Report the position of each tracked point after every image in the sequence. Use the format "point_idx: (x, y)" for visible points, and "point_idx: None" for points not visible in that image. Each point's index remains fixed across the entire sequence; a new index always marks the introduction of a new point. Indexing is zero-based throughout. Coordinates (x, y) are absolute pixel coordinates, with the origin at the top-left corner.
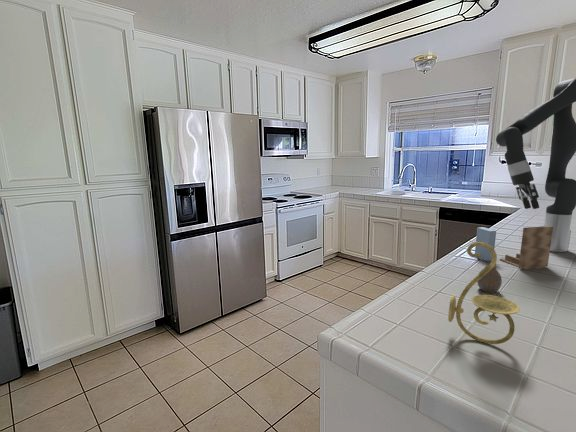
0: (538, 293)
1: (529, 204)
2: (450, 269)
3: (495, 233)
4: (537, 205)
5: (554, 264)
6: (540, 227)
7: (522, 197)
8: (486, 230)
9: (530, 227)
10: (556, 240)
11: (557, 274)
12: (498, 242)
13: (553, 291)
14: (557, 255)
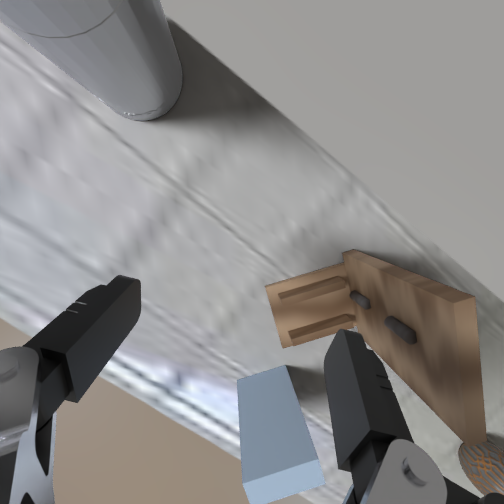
0: (496, 368)
1: (117, 306)
2: (352, 482)
3: (314, 448)
4: (379, 372)
5: (324, 207)
6: (477, 370)
7: (51, 479)
8: (305, 488)
9: (468, 414)
10: (167, 73)
11: (403, 257)
12: (43, 245)
13: (492, 334)
14: (224, 121)
